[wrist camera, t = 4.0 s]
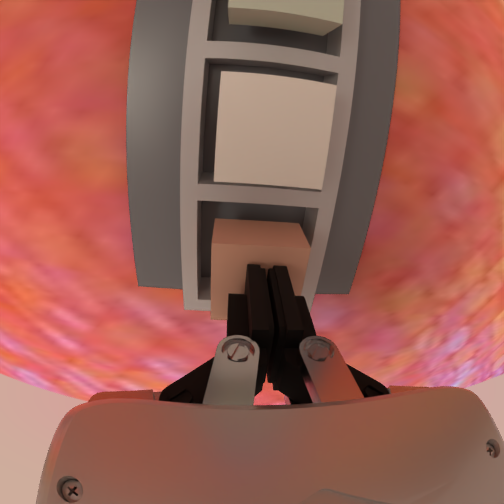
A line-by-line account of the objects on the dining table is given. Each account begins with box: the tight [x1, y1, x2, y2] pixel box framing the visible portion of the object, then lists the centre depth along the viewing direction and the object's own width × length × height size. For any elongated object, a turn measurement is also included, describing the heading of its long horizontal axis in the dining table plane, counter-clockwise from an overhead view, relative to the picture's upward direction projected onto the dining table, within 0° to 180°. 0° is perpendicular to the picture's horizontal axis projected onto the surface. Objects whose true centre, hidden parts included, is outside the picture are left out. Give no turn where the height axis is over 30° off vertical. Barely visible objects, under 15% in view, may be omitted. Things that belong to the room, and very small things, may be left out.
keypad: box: [126, 0, 400, 313], centre depth 11 cm, size 27×14×3 cm, turn 175°
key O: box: [214, 71, 337, 190], centre depth 11 cm, size 4×4×2 cm
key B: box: [211, 218, 311, 320], centre depth 14 cm, size 4×4×2 cm
